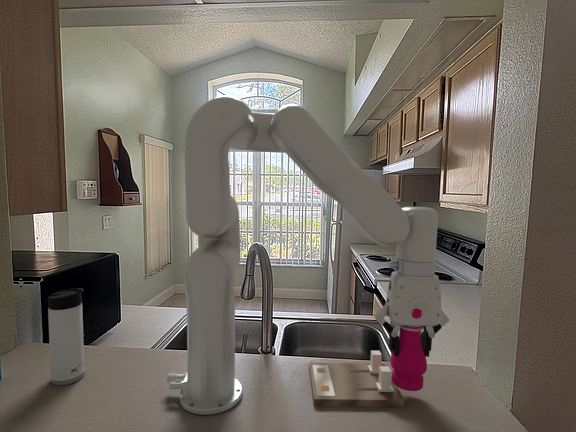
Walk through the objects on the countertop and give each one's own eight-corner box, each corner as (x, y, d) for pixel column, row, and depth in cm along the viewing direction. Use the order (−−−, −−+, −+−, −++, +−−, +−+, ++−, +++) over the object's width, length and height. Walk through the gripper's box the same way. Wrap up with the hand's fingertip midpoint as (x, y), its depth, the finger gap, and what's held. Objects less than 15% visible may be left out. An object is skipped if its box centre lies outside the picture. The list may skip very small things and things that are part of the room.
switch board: (314, 406, 68) (314, 398, 68) (309, 368, 82) (309, 362, 82) (404, 407, 68) (404, 399, 68) (383, 369, 82) (384, 363, 82)
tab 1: (370, 373, 77) (371, 355, 77) (367, 367, 80) (368, 350, 79) (383, 373, 77) (384, 355, 77) (380, 367, 80) (381, 350, 79)
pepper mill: (402, 395, 67) (407, 295, 65) (382, 375, 74) (387, 285, 72) (433, 390, 69) (439, 293, 67) (411, 371, 76) (416, 283, 74)
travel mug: (83, 382, 75) (80, 293, 73) (47, 388, 72) (43, 296, 70) (88, 368, 80) (85, 285, 79) (55, 373, 78) (51, 287, 76)
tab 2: (378, 391, 70) (379, 371, 70) (375, 385, 73) (376, 365, 72) (393, 392, 70) (394, 372, 70) (389, 385, 73) (390, 365, 72)
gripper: (377, 271, 65) (372, 361, 67) (466, 273, 66) (459, 363, 67) (367, 262, 73) (363, 344, 75) (447, 264, 73) (442, 345, 75)
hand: (409, 352), depth 71 cm, fingers closed on pepper mill, 5 cm apart
